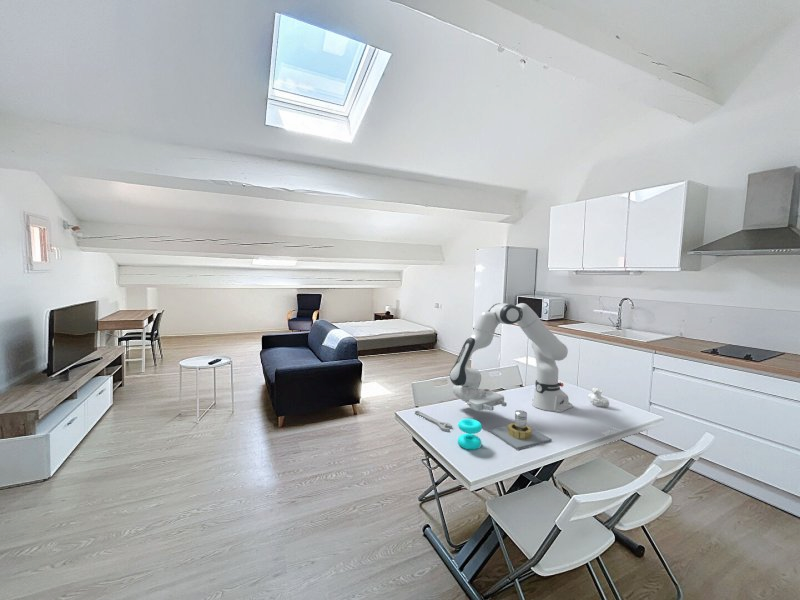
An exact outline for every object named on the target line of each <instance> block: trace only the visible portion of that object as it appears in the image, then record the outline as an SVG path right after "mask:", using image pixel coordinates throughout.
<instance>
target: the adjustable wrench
mask: <svg viewBox="0 0 800 600" xmlns="http://www.w3.org/2000/svg"><path fill="white" fill-rule="evenodd" d="M414 415H416V416H418V415H419V416H418V417H420V416H421V417H420V418H422V417H423V418H422V419H424V418H425V419H424V420H426V421H428V422H429V423H431V424H435V425H436V426H437V427H438V428H439V430H441V431H442V432H449V433H450V431H451V430H452V429H453V425H452V424H451V423H449V422H445V421H444V422H443V421H439V420H438V419H435V418H433V417H432V416H429V415H427V414H426V413H423V412H422V411H419V410H415V411H414Z"/></svg>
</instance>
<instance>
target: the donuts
mask: <svg viewBox="0 0 800 600" xmlns="http://www.w3.org/2000/svg"><path fill="white" fill-rule="evenodd" d="M457 426H458V428H459V430H460V431H461V432H463V434H461V435H459V437H458V438H457V443H458V444H459V447H461V448H463V449H466V450H471V451H473V450H477V449H479V448H481V446H482V439H481V438H480V437H479V436H478V435H476V434H478V433H479V432H481V431H482V428H483V425H482V423H481V422H480V421H478V420H477V419H473V418H463V419H460V420H459V421H458V423H457Z"/></svg>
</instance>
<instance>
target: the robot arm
mask: <svg viewBox="0 0 800 600" xmlns="http://www.w3.org/2000/svg"><path fill="white" fill-rule="evenodd" d="M516 323H517V325H518V326H519V328H520V329H521V331H522V332H523V333H524V334H525V335H526V337H527V338H528V339H529V340H530V341H531V342H530V343H531V348H532V350H533V352H534V353H533V354H534V358H535V362H536V363H535V364H536V380H535V389H534V394H533V398H532V406H533V407H535V408H536V409H539V410H544V411H548V412H555V413H561V412H563V411H568V410H569V409H572V408H573V407H574V404H573V403H571V402H570V400H569V395H568V394H567V393H566V392H565V391H564V390H562V389H561V388H563V387H564V383H563V382H559V367H558V365H557V363H556V361H558V362H559V361H560V362H561V361H563V360H565V358H567V356H568V353H569V350H568V347H567V345H566V344H565V343H563V342H562V341H561V340H560V339H559V338H558V337H557V336H556V335H555V334H554V333H553V332H552V331H551V330H550V329H549V328H548V327H547V326H546V325H545V324H544V322H543V320H542V319H541V318H540V317H539V316H538V314H537V313H536V312H535V311H534V310H533V309H532V308H531V307H530V306H529V305H528V304H527V303H523V302H520V303H517V304H516V305H515V304H512V303H503V302H502V303H501V302H500V303H495V304H493V305H492V306H491V307H490V308H489V309H488V310H485V311H484V310H483V311H482V312H480V313H479V315H478V316H477V319H476V322H475V325H474V328H473V330H472V333H471V335H470V336H469V337H468V338H467V339H466V340H465V341H464V343H463V345H462V347H461V349H460V352H459V354H458V357H457V359H456V361H455V362H454V365H453V366H452V367H451V369H450V372H449V378H450V381H451V383H452V384H453V387H452V393H453V394H454V396H455V397H456V398H457V399H459V400H461V401H463V402H465V404H466V405H468V407H469V408H470V409H472V410H474V411H476V412H479V411H483V410H487V411H491V412H493V411H494V409H495V408H494V407H496V406H499V405H501V406H502V407H503V408H505V407H507V402H505V396H504V395H503V394H501V393H498V392H496V391H492V390H491V389H489V388H485V389H483V388H482V389H481V388H480V385H481V382H482V375H481V372H480V371H479V370H478V369H476V368H471V367H467V366H468V364H469V361H470V360H471V357H472V355H473V353H474V352H476V351H478V350H482V349H485V348H487V347H489V346H490V345H491V344H492V342H493V339H494V335H495V333H496V328H497V327H498V326H499V324H503V325H504V324H505V325H513V324H516Z"/></svg>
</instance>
